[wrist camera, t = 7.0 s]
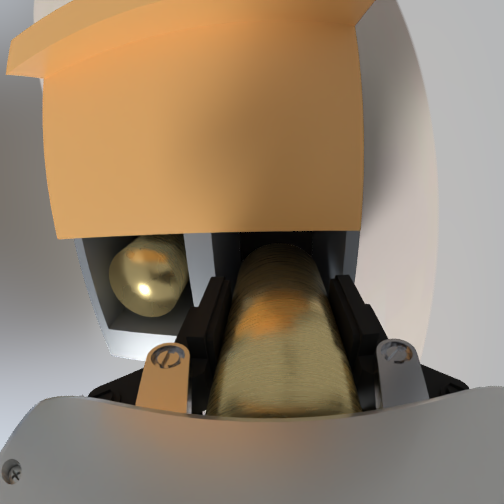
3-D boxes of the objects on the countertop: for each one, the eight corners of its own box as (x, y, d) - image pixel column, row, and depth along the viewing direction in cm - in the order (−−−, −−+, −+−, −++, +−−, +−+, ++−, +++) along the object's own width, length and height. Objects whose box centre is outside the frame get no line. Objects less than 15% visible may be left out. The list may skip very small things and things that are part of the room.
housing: (137, 79, 17) (61, 53, 8) (317, 63, 16) (351, 8, 7) (159, 285, 24) (111, 355, 15) (317, 284, 23) (339, 366, 14)
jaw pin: (235, 243, 13) (182, 403, 5) (321, 242, 13) (389, 398, 4) (240, 315, 14) (212, 475, 6) (316, 314, 14) (347, 473, 6)
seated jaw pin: (162, 206, 21) (101, 248, 13) (210, 203, 21) (171, 246, 12) (169, 253, 22) (119, 314, 14) (215, 252, 22) (184, 318, 14)
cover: (67, 53, 8) (11, 40, 4) (339, 9, 7) (367, -40, 4) (77, 228, 12) (23, 260, 8) (348, 218, 11) (385, 257, 7)
